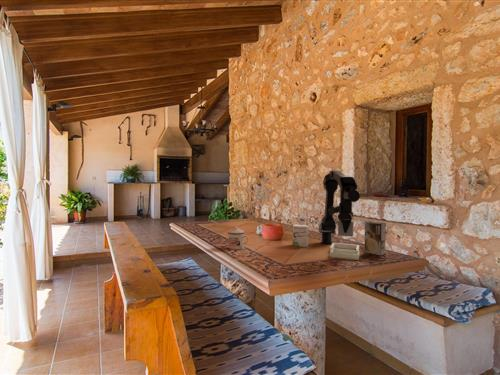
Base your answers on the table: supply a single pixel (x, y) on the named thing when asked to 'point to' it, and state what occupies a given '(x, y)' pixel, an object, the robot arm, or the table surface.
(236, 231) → the teacup with lid
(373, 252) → the coffee box
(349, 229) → the grey block
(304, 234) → the ink box
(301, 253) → the table surface
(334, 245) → the bay
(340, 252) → the tray
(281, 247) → the table surface
